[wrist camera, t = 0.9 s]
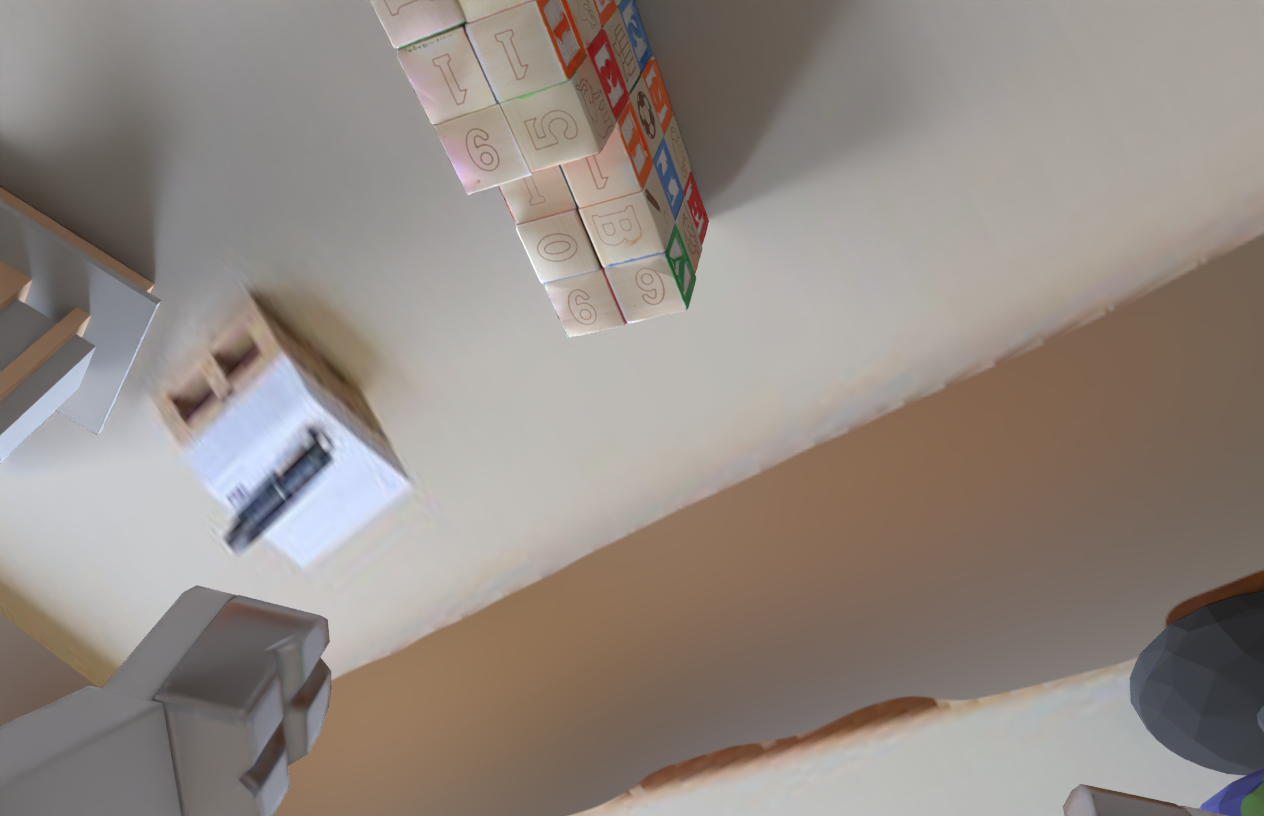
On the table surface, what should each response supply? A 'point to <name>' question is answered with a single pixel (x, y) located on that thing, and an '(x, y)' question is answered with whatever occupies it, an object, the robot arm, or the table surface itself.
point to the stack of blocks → (563, 144)
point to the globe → (1210, 696)
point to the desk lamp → (62, 324)
